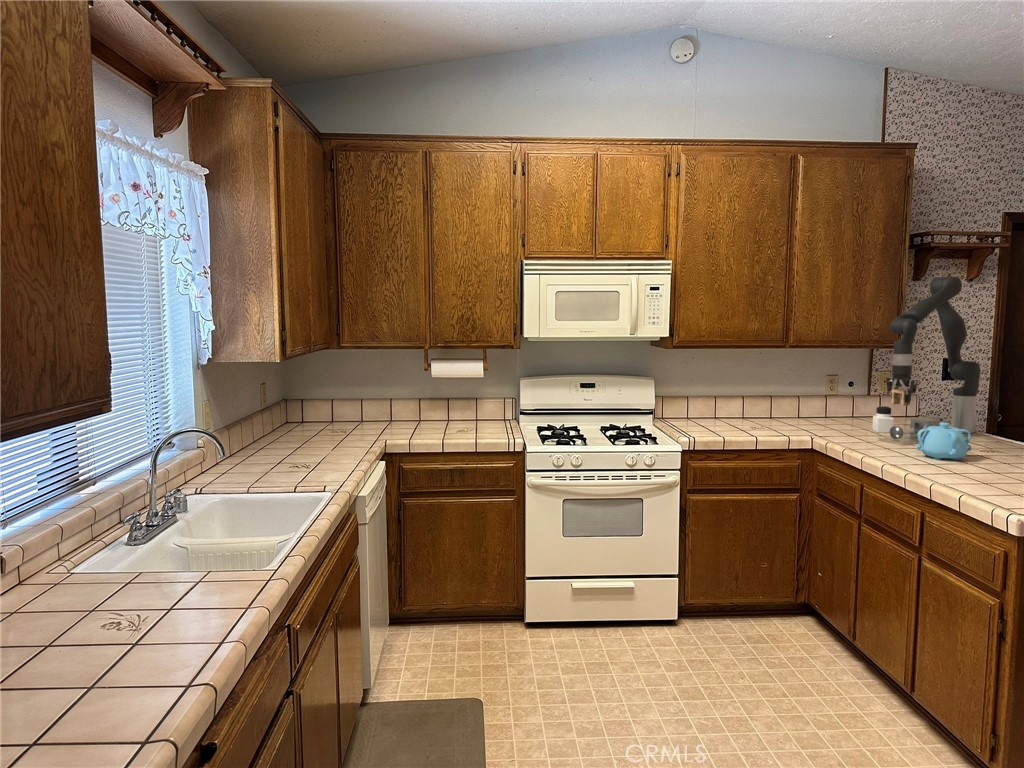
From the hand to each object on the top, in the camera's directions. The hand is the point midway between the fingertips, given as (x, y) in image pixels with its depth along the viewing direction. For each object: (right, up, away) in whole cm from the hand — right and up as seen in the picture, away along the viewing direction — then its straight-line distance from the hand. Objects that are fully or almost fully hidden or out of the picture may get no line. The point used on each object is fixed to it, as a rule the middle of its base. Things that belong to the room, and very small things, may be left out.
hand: (900, 401), depth 295 cm
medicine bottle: (+4, -15, +21) cm, 26 cm away
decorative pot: (-4, -21, -36) cm, 42 cm away
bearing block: (+4, -17, -1) cm, 18 cm away
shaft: (+3, -16, -2) cm, 16 cm away
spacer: (0, -1, 0) cm, 1 cm away
